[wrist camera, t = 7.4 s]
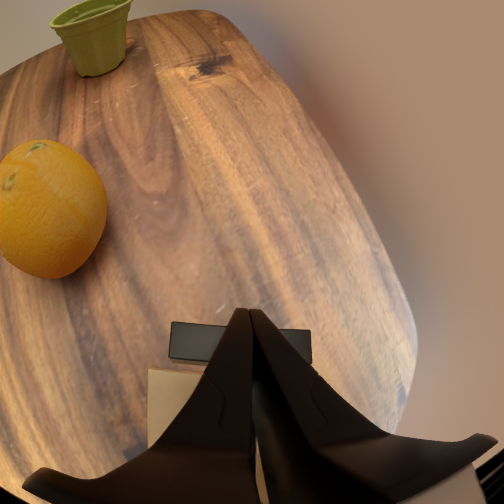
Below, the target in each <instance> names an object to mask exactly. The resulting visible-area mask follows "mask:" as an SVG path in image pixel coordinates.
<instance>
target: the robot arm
mask: <svg viewBox="0 0 504 504" xmlns="http://www.w3.org/2000/svg"><path fill="white" fill-rule="evenodd" d="M318 375H319V374H318V373H317V372H316V370H315V369H314V368H313V367H312V366H311V365H310V364H309V363H308V362H307V361H306V359H305V358H304V357H303V356H302V355H301V354H300V353H299V352H298V351H297V349H296V348H295V347H294V346H293V345H292V344H291V343H290V342H289V341H288V339H287V338H286V337H285V336H284V335H283V334H282V333H281V332H280V330H279V329H278V328H277V327H276V326H275V325H274V324H273V322H272V321H271V320H270V319H269V318H268V317H267V316H266V314H265V313H264V312H263V311H262V310H260V309H249V310H248V309H246V308H236V309H235V311H234V313H233V315H232V317H231V319H230V321H229V323H228V325H227V327H226V329H225V331H224V333H223V335H222V337H221V339H220V341H219V343H218V345H217V347H216V349H215V351H214V353H213V355H212V357H211V359H210V361H209V363H208V365H207V367H206V369H205V371H204V373H203V374H202V376H201V378H200V380H199V382H198V384H197V386H196V387H195V389H194V391H193V393H192V394H191V396H190V397H189V399H188V400H187V402H186V403H185V405H184V406H183V408H182V409H181V410H180V412H179V413H178V414H177V415H176V417H175V418H174V419H173V421H172V422H171V423H170V425H169V426H168V427H167V428H166V430H165V431H164V432H163V434H162V435H161V436H160V437H159V438H158V440H157V441H156V442H155V443H154V444H153V445H152V446H151V447H150V448H149V449H147V450H146V451H145V452H143V453H142V454H140V455H138V456H137V457H135V458H133V459H132V460H130V461H128V462H127V463H125V464H123V465H122V466H120V467H118V468H116V469H115V470H113V471H111V472H109V473H108V474H106V475H104V476H102V477H99V478H95V479H79V478H74V477H72V476H69V475H66V474H64V473H61V472H58V471H56V470H53V469H50V468H46V467H42V468H40V469H39V470H37V471H36V472H35V473H33V474H32V475H31V476H29V477H28V478H27V479H26V480H25V482H24V483H23V485H22V488H23V489H24V490H26V491H28V492H30V493H32V494H33V495H35V496H37V497H39V498H41V499H43V500H45V501H47V502H50V503H52V504H261V501H260V497H259V492H258V488H257V483H256V478H255V474H254V469H253V464H252V458H251V432H252V415H253V421H254V426H255V432H256V438H257V443H258V449H259V454H260V459H261V465H262V470H263V475H264V480H265V483H266V484H265V486H266V491H267V496H268V501H269V504H504V448H503V449H502V450H501V451H500V452H498V453H497V454H496V455H494V456H493V457H492V458H490V459H489V460H488V461H486V462H485V463H484V464H482V465H481V466H479V467H478V468H476V469H474V467H473V464H472V462H473V461H475V460H476V459H477V458H479V457H480V456H482V455H483V454H484V453H485V452H487V451H488V450H489V449H491V448H492V447H493V446H494V445H496V444H497V443H498V441H497V440H496V439H495V438H493V437H491V436H489V435H484V434H479V433H476V434H474V435H472V436H471V437H469V438H467V439H465V440H463V441H458V442H442V441H432V440H424V439H417V438H410V437H403V436H397V435H393V434H390V433H387V432H385V431H383V430H382V429H380V428H378V427H377V426H376V425H374V424H373V423H372V422H371V421H369V420H368V419H367V418H366V417H365V416H363V415H362V414H361V413H360V412H358V411H357V410H356V409H355V408H354V407H352V406H351V405H350V404H349V403H348V402H347V401H345V400H344V399H343V398H342V397H341V396H340V395H339V394H338V393H337V392H336V391H335V390H334V389H333V388H332V387H331V386H330V385H329V384H328V383H327V382H326V381H325V380H324V379H323V378H322V377H321V376H320V375H319V376H318ZM0 504H30V503H28V502H26V501H24V500H22V499H21V498H19V497H17V496H15V495H14V494H12V493H10V492H9V491H7V490H5V489H4V488H2V487H1V486H0Z"/></svg>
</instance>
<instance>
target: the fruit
mask: <svg viewBox="0 0 504 504" xmlns="http://www.w3.org/2000/svg"><path fill="white" fill-rule="evenodd" d="M107 209H108V204H107V196H106V191H105V188H104V185H103V183H102V181H101V179H100V177H99V175H98V174H97V172H96V171H95V170H94V168H93V167H92V166H91V165H90V164H89V163H88V162H87V161H86V159H84V158H83V157H82V156H81V155H80V154H79V153H77V152H76V151H75V150H73V149H72V148H70V147H68V146H66V145H64V144H61V143H58V142H55V141H51V140H43V139H42V140H33V141H29V142H26V143H24V144H22V145H20V146H18V147H16V148H15V149H14V150H12V151H11V152H10V153H9V154H8V155H7V156H6V157H5V158H4V159H3V160H2V162H1V163H0V254H1V255H2V256H3V257H4V258H5V259H6V260H7V261H9V262H10V263H11V264H12V265H14V266H15V267H17V268H18V269H20V270H22V271H23V272H26V273H28V274H30V275H33V276H36V277H40V278H45V279H55V278H61V277H64V276H66V275H69V274H70V273H72V272H74V271H75V270H76V269H78V268H79V267H80V266H81V265H82V264H83V263H84V262H85V261H86V260H87V259H88V258H89V256H90V255H91V253H92V252H93V250H94V249H95V247H96V245H97V243H98V241H99V239H100V237H101V235H102V233H103V230H104V226H105V223H106V218H107Z"/></svg>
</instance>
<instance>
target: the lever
mask: <svg viewBox="0 0 504 504" xmlns="http://www.w3.org/2000/svg"><path fill="white" fill-rule="evenodd" d="M226 327H227V326H218V325H205V324H194V323H184V322H175V321H173V322H172V323H171V333H170V343H169V355H168V357H169V359H170V360H171V361H172V362H173V363H180V364H190V365H201V366H207V365H208V363H209V361H210V359H211V357H212V355H213V353H214V351H215V349H216V347H217V345H218V343H219V341H220V339H221V337H222V335H223V333H224V331H225V329H226ZM279 330H280V332H281V333H282V334H283V335H284V336H285V337H286V338H287V339H288V341H289V342H290V343H291V344H292V345H293V346H294V347H295V348H296V349H297V351H298V352H299V353H300V354H301V355H302V356H303V357H304V358H305V359H306V361H307V362H308V363H309V364H312V348H311V331H310V330H302V329H279ZM251 458H252V464H253V469H254V474H255V478H256V483H257V438H256V432H255V426H254V421H253V415H252V432H251ZM261 504H263V502H262V501H261Z"/></svg>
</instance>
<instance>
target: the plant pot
mask: <svg viewBox="0 0 504 504" xmlns="http://www.w3.org/2000/svg"><path fill="white" fill-rule="evenodd" d="M132 1H133V0H86V1H83V2H81V3H79V4H76V5H74V6H72V7H70V8H68V9H66V10H65V11H63V12H62V13H60V14H58V15H57V16H56V17H55V18H54V19H53V20H52V21H51V22H50V27H51V28H52V29H55V31H56V33H57V35H58V36H60V37H61V39H62V41H63V43H64V45H65V48H66V50H67V52H68V54H69V56H70V58H71V60H72V62H73V64H74V66H75V68H76V70H77V72H78V74H79V75H80V76H82V77H84V76H87V75H89V76H98V75H101V74H104V73H106V72H108V71H111V70H112V69H114V68H116V67H117V66H118V65H119V64H120V62H121V61H122V60H124V59H125V45H126V27H127V16H128V12H129V10H130V5H131V2H132Z"/></svg>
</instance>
